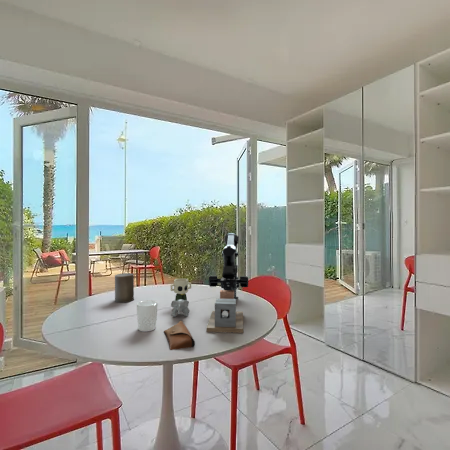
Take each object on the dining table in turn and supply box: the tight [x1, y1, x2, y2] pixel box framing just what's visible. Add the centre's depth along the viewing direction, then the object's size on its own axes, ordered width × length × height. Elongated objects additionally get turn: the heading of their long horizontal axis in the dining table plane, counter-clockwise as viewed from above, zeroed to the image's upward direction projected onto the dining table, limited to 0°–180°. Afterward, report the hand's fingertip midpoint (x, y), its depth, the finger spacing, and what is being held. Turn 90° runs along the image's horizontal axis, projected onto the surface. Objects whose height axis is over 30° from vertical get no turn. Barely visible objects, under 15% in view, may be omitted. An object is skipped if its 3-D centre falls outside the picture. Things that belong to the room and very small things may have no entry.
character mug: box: [170, 278, 192, 301], centre depth 140 cm, size 11×7×13 cm, turn 119°
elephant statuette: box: [170, 299, 190, 318], centre depth 124 cm, size 9×12×8 cm
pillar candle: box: [114, 272, 135, 303], centre depth 150 cm, size 10×10×15 cm
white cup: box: [136, 299, 158, 333], centre depth 110 cm, size 8×8×10 cm
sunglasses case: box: [163, 320, 196, 351], centre depth 101 cm, size 18×7×7 cm
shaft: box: [219, 289, 234, 318], centre depth 115 cm, size 17×6×10 cm, turn 176°
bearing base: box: [205, 298, 244, 334], centre depth 117 cm, size 21×14×10 cm, turn 176°
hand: (227, 297), depth 127 cm, fingers closed
